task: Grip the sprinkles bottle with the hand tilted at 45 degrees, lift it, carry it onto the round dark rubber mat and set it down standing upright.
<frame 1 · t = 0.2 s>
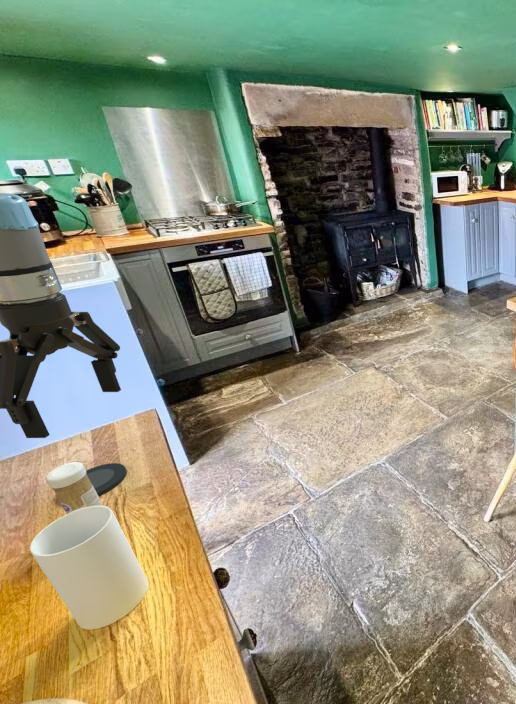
hand: (78, 412, 70), 22 cm above the countertop, tool pointing down, fingers open, 13 cm apart
sprinkles bottle: (94, 526, 75), on the countertop
mat: (94, 483, 84), on the countertop
cup: (115, 601, 63), on the countertop
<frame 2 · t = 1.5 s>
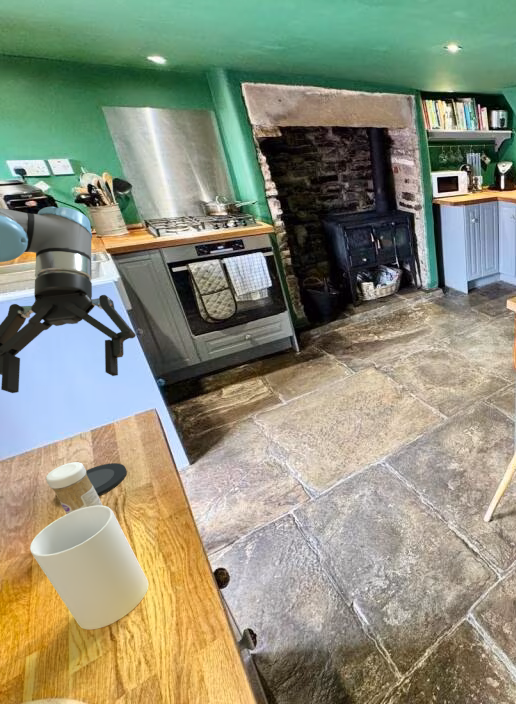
hand: (62, 382, 73), 25 cm above the countertop, tool tilted 45°, fingers open, 13 cm apart
nothing on the countertop moved.
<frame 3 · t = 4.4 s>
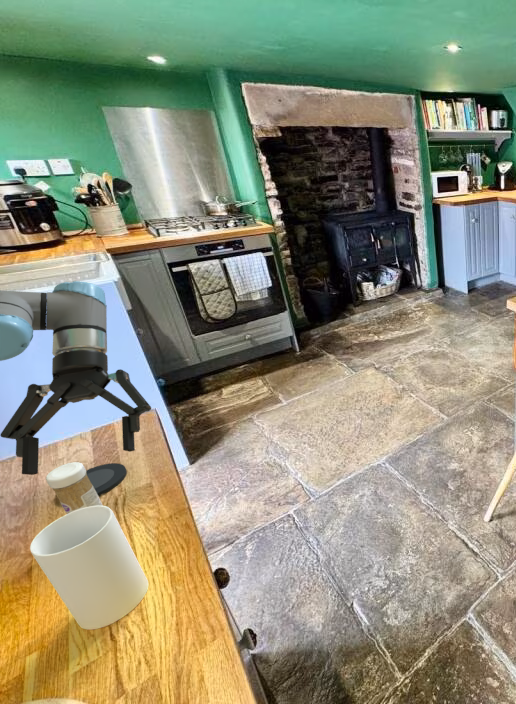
hand: (81, 461, 75), 11 cm above the countertop, tool tilted 45°, fingers open, 13 cm apart
nothing on the countertop moved.
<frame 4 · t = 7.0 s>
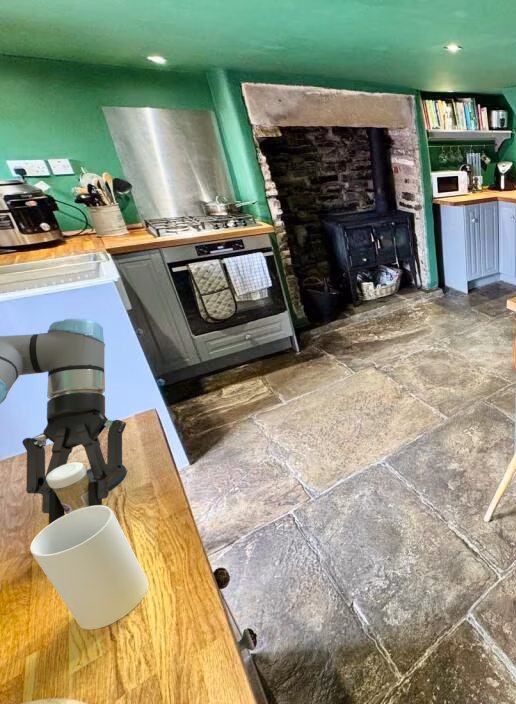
hand: (76, 524, 70), 4 cm above the countertop, tool tilted 45°, fingers closed on sprinkles bottle, 4 cm apart
sprinkles bottle: (94, 526, 75), on the countertop, touching gripper
everything else where it was.
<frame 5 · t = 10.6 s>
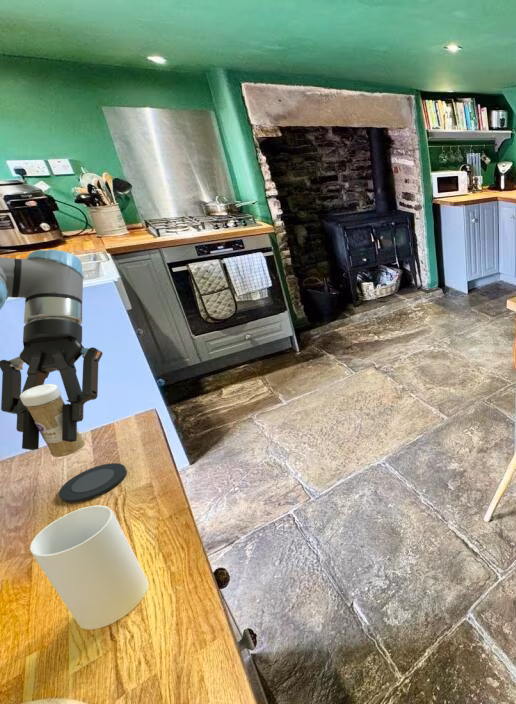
hand: (50, 444, 71), 16 cm above the countertop, tool tilted 45°, fingers closed on sprinkles bottle, 4 cm apart
sprinkles bottle: (69, 450, 76), point 12 cm above the countertop, touching gripper
everything else where it was.
when the fingers open (5 cm above the countertop, at t = 14.4 s): sprinkles bottle stays where it is, resting on mat.
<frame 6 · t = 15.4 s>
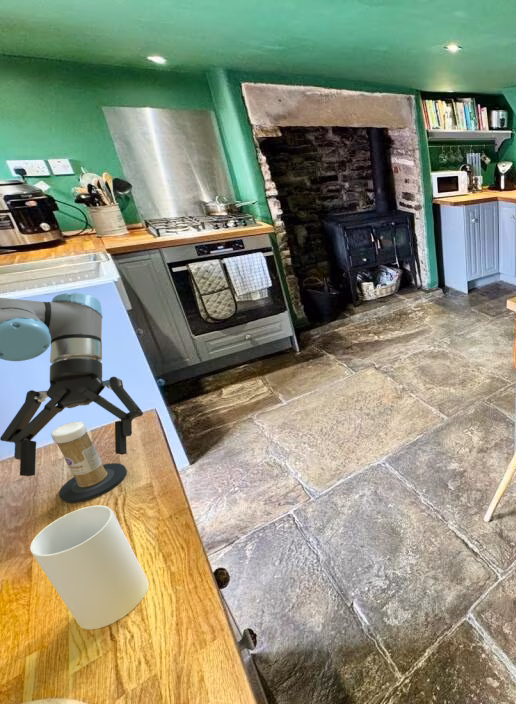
hand: (76, 464, 79), 7 cm above the countertop, tool tilted 45°, fingers open, 13 cm apart
sprinkles bottle: (94, 480, 84), point 1 cm above the countertop, touching mat
everything else where it was.
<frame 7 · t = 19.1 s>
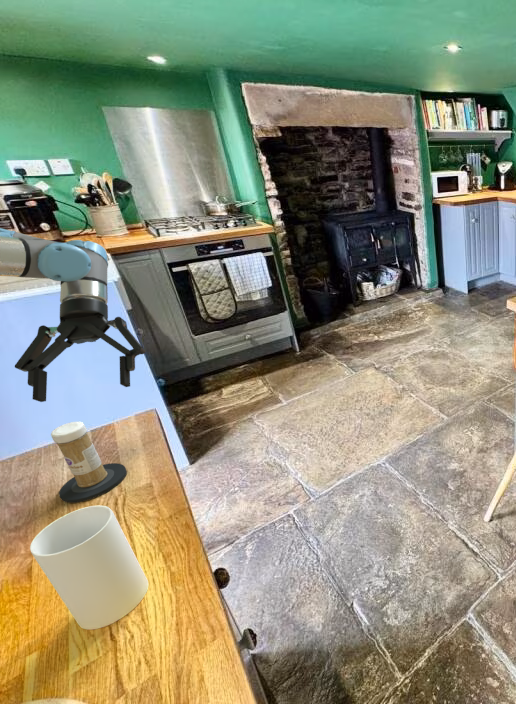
hand: (83, 392, 86), 16 cm above the countertop, tool tilted 45°, fingers open, 13 cm apart
nothing on the countertop moved.
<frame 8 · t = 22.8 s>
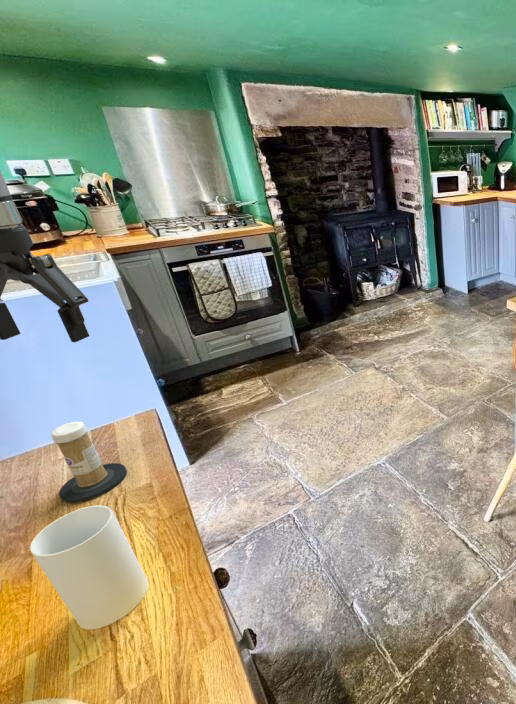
hand: (45, 338, 77), 31 cm above the countertop, tool pointing down, fingers open, 13 cm apart
nothing on the countertop moved.
at the end: sprinkles bottle 0.1 cm from the mat (horizontally); sprinkles bottle tilted 0°; the gripper is holding nothing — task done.
